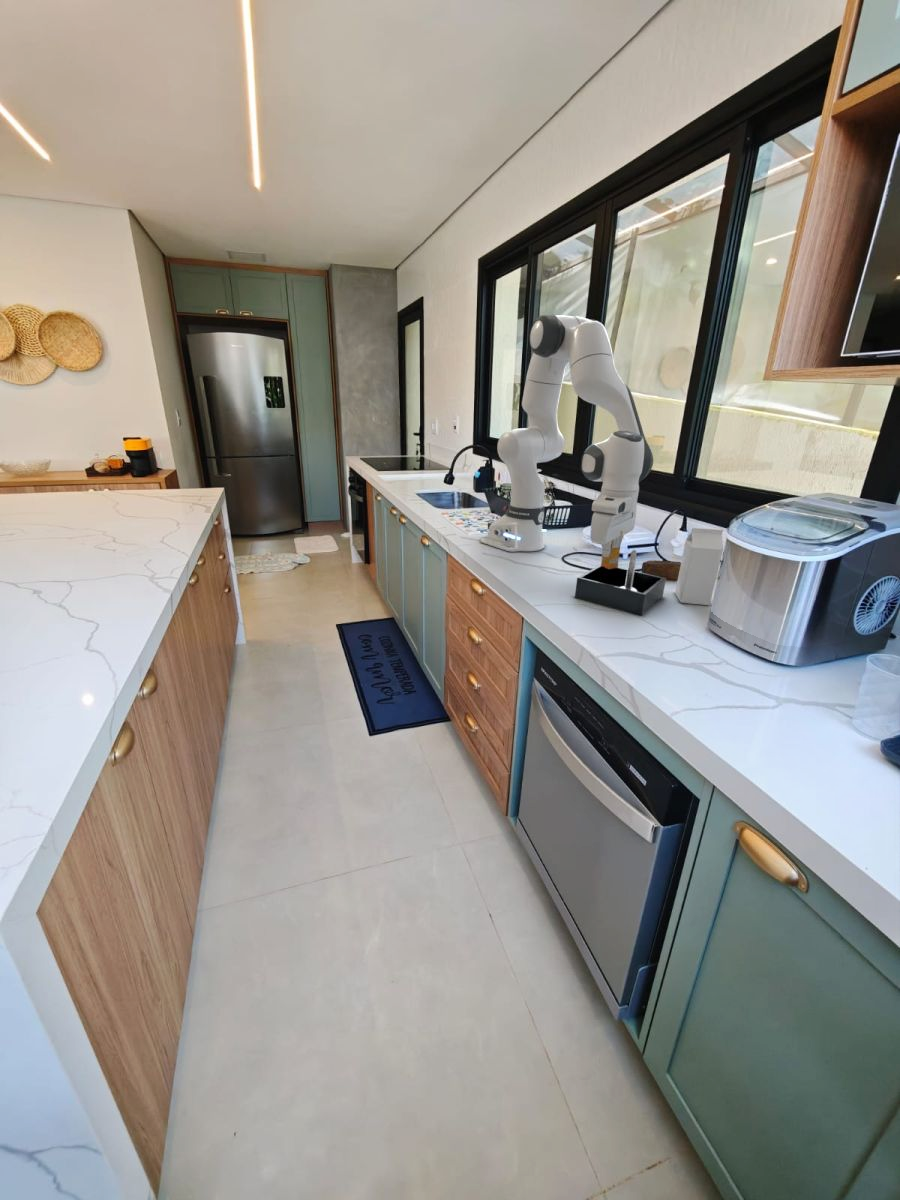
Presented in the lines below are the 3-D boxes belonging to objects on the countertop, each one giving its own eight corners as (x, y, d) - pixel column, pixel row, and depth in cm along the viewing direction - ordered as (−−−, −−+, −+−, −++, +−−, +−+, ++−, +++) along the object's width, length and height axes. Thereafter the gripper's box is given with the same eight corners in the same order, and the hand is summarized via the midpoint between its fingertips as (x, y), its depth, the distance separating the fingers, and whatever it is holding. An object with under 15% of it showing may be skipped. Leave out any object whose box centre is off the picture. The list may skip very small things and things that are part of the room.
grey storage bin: (574, 597, 132) (577, 577, 130) (599, 582, 143) (602, 563, 141) (641, 616, 122) (645, 594, 120) (662, 597, 133) (666, 578, 131)
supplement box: (599, 565, 132) (604, 528, 129) (609, 564, 134) (614, 527, 130) (608, 569, 130) (613, 531, 126) (618, 568, 131) (624, 530, 127)
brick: (677, 576, 149) (680, 561, 147) (681, 580, 145) (684, 565, 144) (640, 573, 151) (643, 558, 149) (642, 578, 147) (645, 562, 145)
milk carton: (709, 605, 128) (727, 533, 121) (680, 603, 130) (695, 531, 122) (702, 595, 135) (718, 526, 128) (674, 593, 136) (689, 524, 129)
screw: (636, 595, 132) (636, 602, 128) (616, 593, 134) (616, 599, 130) (644, 548, 127) (644, 553, 123) (624, 546, 129) (624, 551, 125)
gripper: (622, 493, 134) (614, 543, 140) (588, 504, 120) (582, 560, 125) (645, 496, 131) (637, 547, 136) (614, 508, 116) (606, 565, 121)
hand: (610, 553), depth 130 cm, fingers closed on supplement box, 4 cm apart
